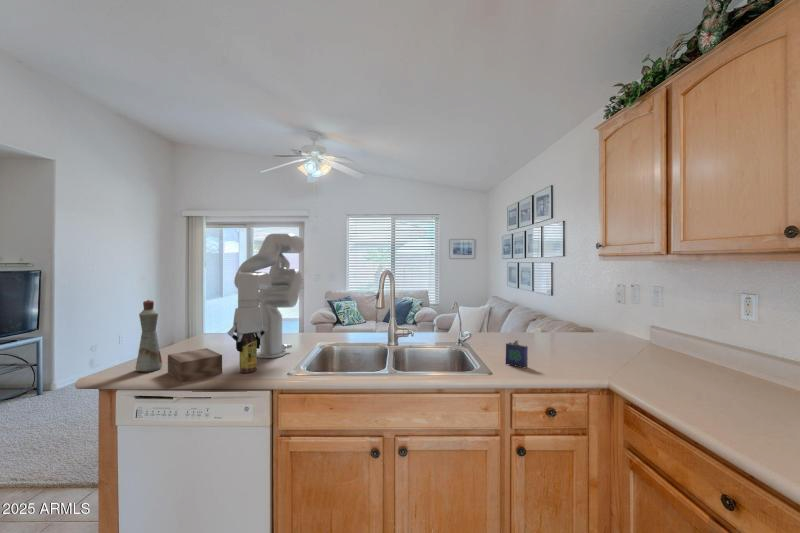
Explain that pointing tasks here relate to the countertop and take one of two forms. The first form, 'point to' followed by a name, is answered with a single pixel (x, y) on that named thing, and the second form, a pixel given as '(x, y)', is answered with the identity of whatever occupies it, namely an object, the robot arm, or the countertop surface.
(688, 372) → the countertop surface
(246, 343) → the sauce bottle
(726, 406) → the countertop surface
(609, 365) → the countertop surface
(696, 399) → the countertop surface
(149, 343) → the bottle
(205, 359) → the walnut block
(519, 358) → the flask
